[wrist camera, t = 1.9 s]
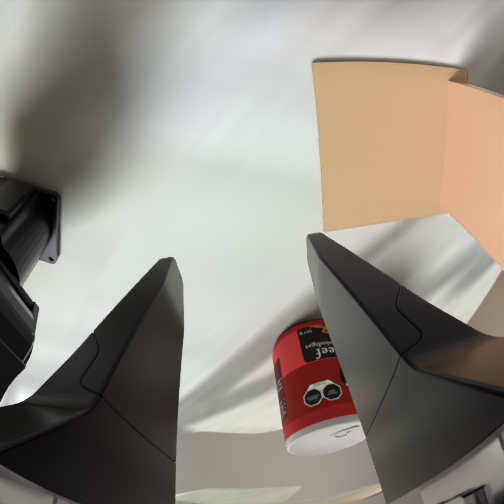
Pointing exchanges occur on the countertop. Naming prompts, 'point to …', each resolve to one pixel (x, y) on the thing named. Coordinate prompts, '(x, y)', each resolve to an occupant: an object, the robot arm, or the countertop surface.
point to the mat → (381, 140)
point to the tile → (475, 165)
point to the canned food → (313, 392)
